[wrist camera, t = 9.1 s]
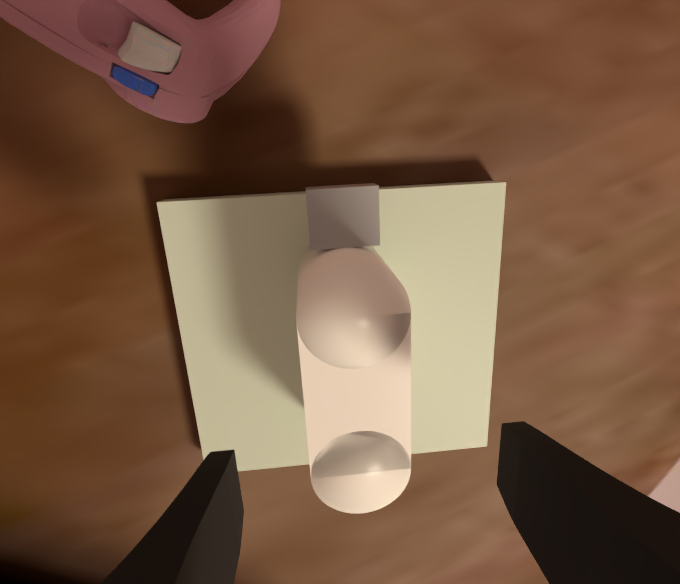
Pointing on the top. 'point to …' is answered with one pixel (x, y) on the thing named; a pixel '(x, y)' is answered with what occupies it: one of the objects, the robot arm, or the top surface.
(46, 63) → the top surface
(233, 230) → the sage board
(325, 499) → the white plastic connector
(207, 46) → the pink toy car
